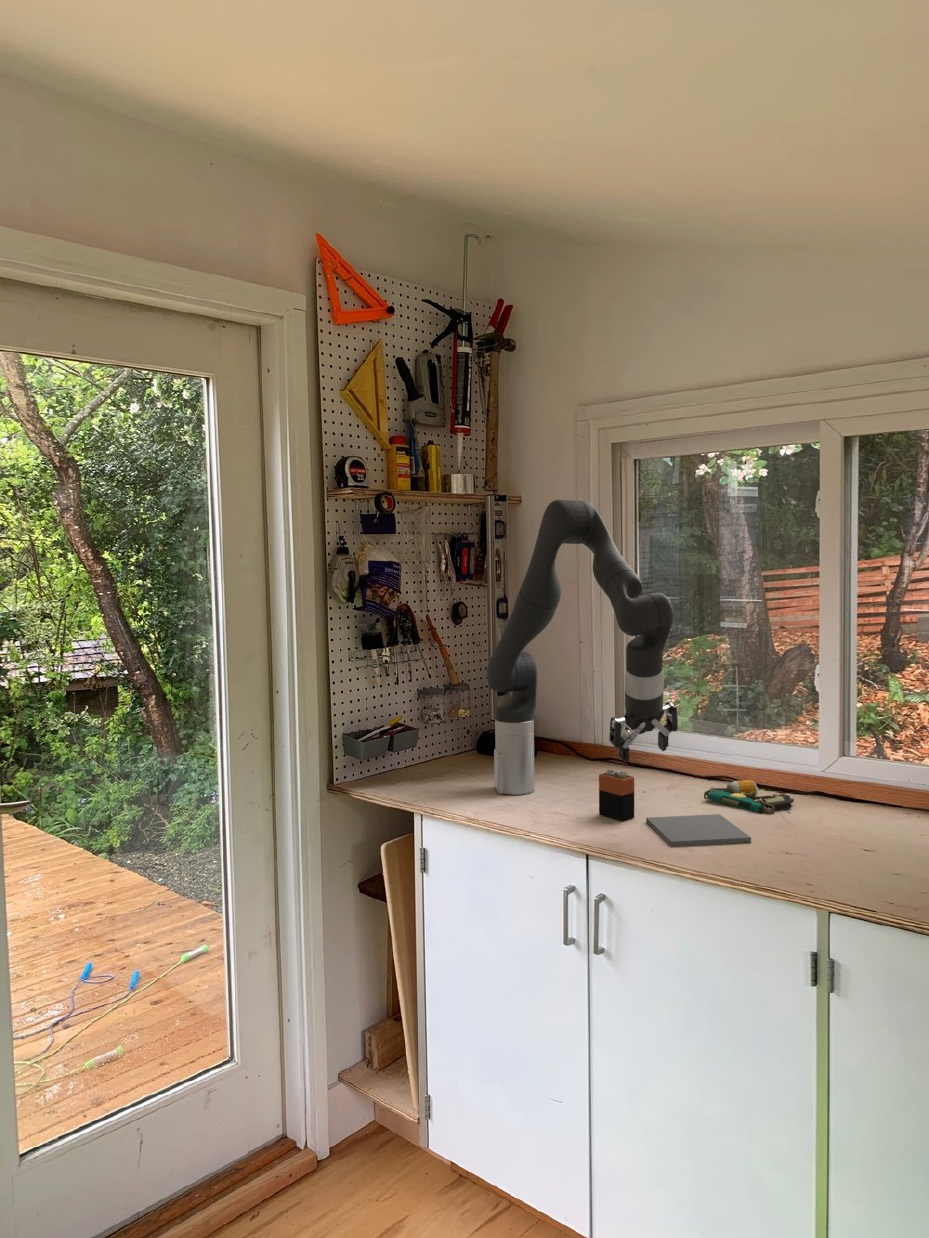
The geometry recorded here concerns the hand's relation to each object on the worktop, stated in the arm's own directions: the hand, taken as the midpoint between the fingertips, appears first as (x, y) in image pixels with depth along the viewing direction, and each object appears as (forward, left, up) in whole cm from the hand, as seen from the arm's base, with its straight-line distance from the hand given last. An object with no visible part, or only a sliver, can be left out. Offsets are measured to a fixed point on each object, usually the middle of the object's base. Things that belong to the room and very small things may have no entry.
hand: (643, 754), depth 188 cm
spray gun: (+28, +13, -16) cm, 35 cm away
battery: (-3, +8, -16) cm, 18 cm away
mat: (+10, -5, -15) cm, 19 cm away
